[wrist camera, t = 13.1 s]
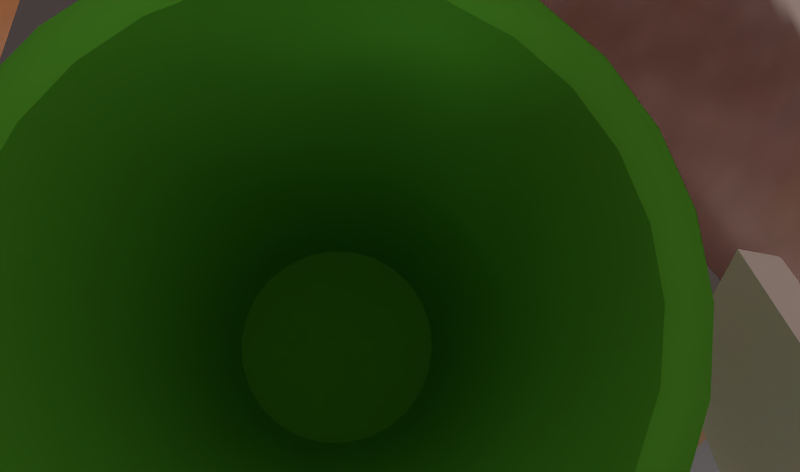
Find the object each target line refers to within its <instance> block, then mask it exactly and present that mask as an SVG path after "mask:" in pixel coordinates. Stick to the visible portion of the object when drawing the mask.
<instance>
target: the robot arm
mask: <svg viewBox="0 0 800 472" xmlns="http://www.w3.org/2000/svg"><path fill="white" fill-rule="evenodd" d="M713 299H714V321H713V348H712V374H711V399H710V403H709V407H708V410H707V414H706V417H705V421H704V424H703V428H702V429H703V432H704V434H705V437H706V439H707V441H708V444H709V446H710V449H711V451H712V454H713V456H714V459H715V461H716V463H717V466H718V468H719V471H720V472H800V283H799V281H798V280H797V279H796V277H795V276H794V275H793V273H792V272H791V271H790V269H789V268H788V267H787V265H786V264H785V263H784V261H783V260H782V259H781V257H780V256H774V255H769V254H763V253H758V252H752V251H747V250H741V249H737V251H736V253H735V254H734V256H733V258H732V260H731V262H730V264H729V266H728V268H727V269H726V271H725V273H724V275H723V277H722V279H721V281H720V283H719V285H718V286H717V288H716V290H715V292H714V294H713Z"/></svg>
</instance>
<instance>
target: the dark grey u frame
mask: <svg viewBox="0 0 800 472" xmlns="http://www.w3.org/2000/svg"><path fill="white" fill-rule="evenodd" d="M77 1H78V0H20V2H19V5H18V8H17V11H16V14H15V17H14V20H13V23H12V26H11V29H10V32H9V35H8V38H7V41H6V43H5V46H4V49H3V52H2V55H1V58H0V65H1V64H2V63H3V62H4V61H5V60H6V59H7V58H8V57H9V56H10V55H11V54H12V53H13V52H14V51H15V50H16V49H17V48H18V47H19V46H20V45H21V44H22V43H23V42H24V41H25V40H26V39H27V38H28V37H29V36H30V35H31V34H32V33H33V31H34V30H35V29H36V28H37V27H38V26H40V25H41V24H43V23H44V22H46V21H47V20H49V19H50V18H52V17H53V16H55V15H57V14H58V13H60V12H61V11H63V10H64V9H66V8H67V7H69V6H70V5H72V4H74V3H75V2H77Z"/></svg>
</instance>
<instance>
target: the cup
mask: <svg viewBox="0 0 800 472" xmlns="http://www.w3.org/2000/svg"><path fill="white" fill-rule="evenodd" d="M713 321H714V299H713V294H712V289H711V284H710V278H709V273H708V268H707V263H706V258H705V253H704V248H703V243H702V238H701V233H700V228H699V223H698V217H697V212H696V209H695V207H694V205H693V202H692V200H691V198H690V196H689V194H688V191H687V189H686V187H685V185H684V182H683V180H682V178H681V176H680V174H679V171H678V169H677V167H676V165H675V162H674V160H673V158H672V156H671V154H670V151H669V149H668V147H667V145H666V142H665V140H664V138H663V136H662V133H661V131H660V129H659V127H658V126H657V125H656V123H655V122H654V121H653V119H652V118H651V117H650V115H649V114H648V113H647V111H646V110H645V109H644V107H643V106H642V105H641V103H640V102H639V101H638V99H637V98H636V97H635V95H634V94H633V93H632V91H631V90H630V89H629V87H628V86H627V85H626V83H625V82H624V81H623V79H622V78H621V77H620V75H619V74H618V73H617V71H616V70H615V69H614V67H613V66H612V65H611V63H610V62H609V61H608V59H607V58H606V57H605V56H604V55H603V54H602V53H600V52H599V51H598V50H597V49H596V48H595V47H593V46H592V45H591V44H590V43H589V42H587V41H586V40H585V39H584V38H583V37H582V36H580V35H579V34H578V33H577V32H576V31H575V30H573V29H572V28H571V27H570V26H569V25H568V24H566V23H565V22H564V21H563V20H562V19H560V18H559V17H558V16H557V15H556V14H555V13H553V12H552V11H551V10H550V9H549V8H548V7H546V6H545V5H544V4H543V3H542V2H541V1H539V0H78V1H77V2H75V3H74V4H72V5H70V6H69V7H67V8H66V9H64V10H63V11H61V12H60V13H58V14H57V15H55V16H53V17H52V18H50V19H49V20H47V21H46V22H44V23H43V24H41V25H40V26H38V27H37V28H36V29H35V30H34V31H33V33H32V34H31V35H30V36H29V37H28V38H27V39H26V40H25V41H24V42H23V43H22V44H21V45H20V46H19V47H18V48H17V49H16V50H15V51H14V52H13V53H12V54H11V55H10V56H9V57H8V58H7V59H6V60H5V61H4V62H3V63H2V64H1V65H0V472H690V470H691V467H692V463H693V460H694V456H695V452H696V449H697V445H698V442H699V438H700V435H701V431H702V428H703V424H704V421H705V417H706V414H707V410H708V407H709V403H710V399H711V374H712V348H713Z"/></svg>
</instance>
